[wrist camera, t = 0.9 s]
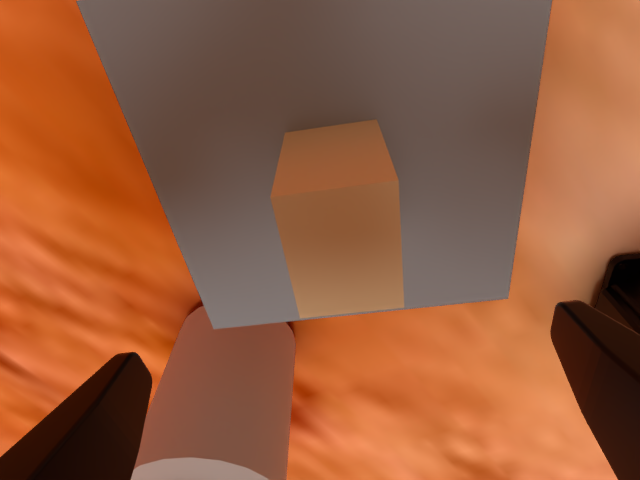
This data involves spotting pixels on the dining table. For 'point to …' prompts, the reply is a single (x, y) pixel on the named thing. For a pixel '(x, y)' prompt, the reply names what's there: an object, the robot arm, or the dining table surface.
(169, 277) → the dining table surface
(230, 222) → the lid
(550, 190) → the dining table surface
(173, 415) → the can
